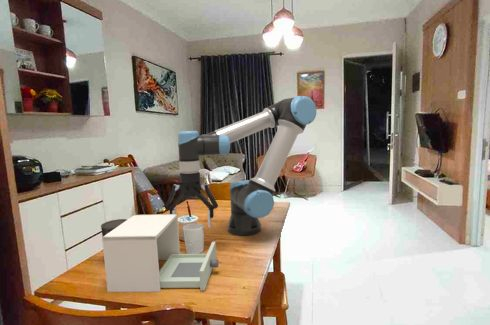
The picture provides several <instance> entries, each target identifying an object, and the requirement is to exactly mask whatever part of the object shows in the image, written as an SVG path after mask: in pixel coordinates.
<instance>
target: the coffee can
mask: <svg viewBox="0 0 490 325" xmlns="http://www.w3.org/2000/svg"><path fill="white" fill-rule="evenodd" d="M128 219H129V218H127V219H125V218H119V219H112V220H108V221H106V222H104V223H101V225H100V228H101V236H102V237H104V236H105V235H106V234H108V233H109V232H111V231H112V230H114V229H115V228H116V227H118V226H119V225H121V224H122V223H123V222H125V221H126V220H128ZM102 237H101V238H102Z"/></svg>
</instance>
